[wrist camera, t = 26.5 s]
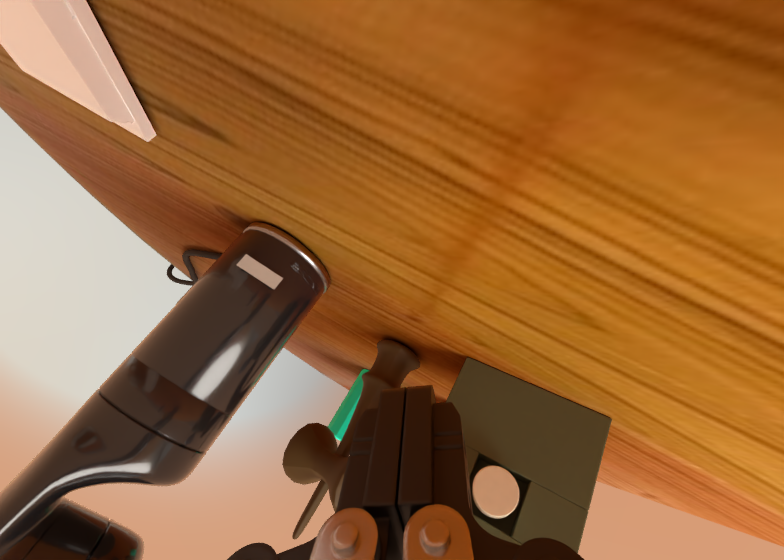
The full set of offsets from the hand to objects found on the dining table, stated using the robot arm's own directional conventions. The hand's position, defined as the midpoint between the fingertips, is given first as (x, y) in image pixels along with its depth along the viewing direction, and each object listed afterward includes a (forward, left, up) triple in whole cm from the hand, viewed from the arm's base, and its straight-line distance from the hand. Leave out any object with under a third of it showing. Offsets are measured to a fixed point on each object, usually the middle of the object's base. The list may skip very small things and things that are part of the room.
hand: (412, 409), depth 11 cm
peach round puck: (-2, -21, -3) cm, 21 cm away
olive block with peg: (-3, -24, -11) cm, 27 cm away
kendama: (-17, -23, -11) cm, 31 cm away
